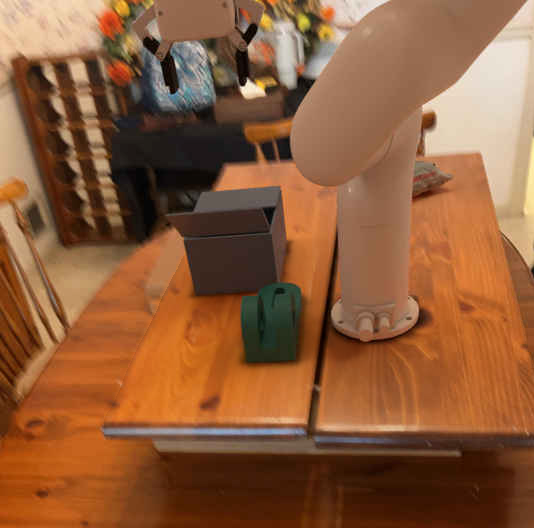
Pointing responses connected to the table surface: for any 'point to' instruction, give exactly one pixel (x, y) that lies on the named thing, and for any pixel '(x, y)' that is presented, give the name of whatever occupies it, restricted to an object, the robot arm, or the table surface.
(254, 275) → the carton
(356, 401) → the table surface
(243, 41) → the robot arm
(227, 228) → the carton flap
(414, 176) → the packaged food
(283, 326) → the bracket
